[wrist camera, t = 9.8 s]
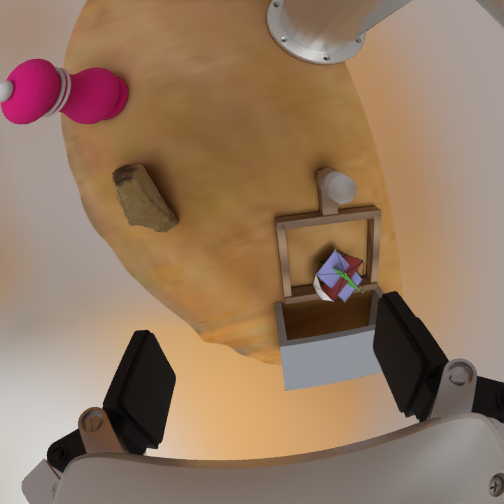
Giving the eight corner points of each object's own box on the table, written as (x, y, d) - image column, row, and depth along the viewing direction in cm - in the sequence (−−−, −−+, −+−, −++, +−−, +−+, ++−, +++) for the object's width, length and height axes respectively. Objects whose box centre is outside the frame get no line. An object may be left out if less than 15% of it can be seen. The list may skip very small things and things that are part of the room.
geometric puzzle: (352, 231, 34) (339, 280, 30) (379, 263, 36) (369, 311, 32) (314, 246, 40) (297, 291, 35) (341, 274, 42) (327, 317, 37)
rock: (198, 234, 34) (184, 157, 28) (145, 270, 28) (118, 183, 23) (151, 218, 40) (136, 156, 34) (105, 245, 34) (83, 178, 28)
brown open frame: (268, 172, 32) (273, 182, 26) (373, 162, 32) (400, 172, 25) (283, 294, 40) (289, 326, 34) (371, 280, 39) (390, 307, 33)
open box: (274, 302, 41) (279, 346, 32) (378, 285, 40) (403, 322, 32) (280, 348, 45) (285, 390, 37) (372, 331, 44) (390, 369, 36)
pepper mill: (130, 66, 26) (27, 29, 8) (134, 115, 29) (25, 115, 11) (85, 83, 26) (-24, 74, 8) (90, 129, 29) (-23, 150, 11)
